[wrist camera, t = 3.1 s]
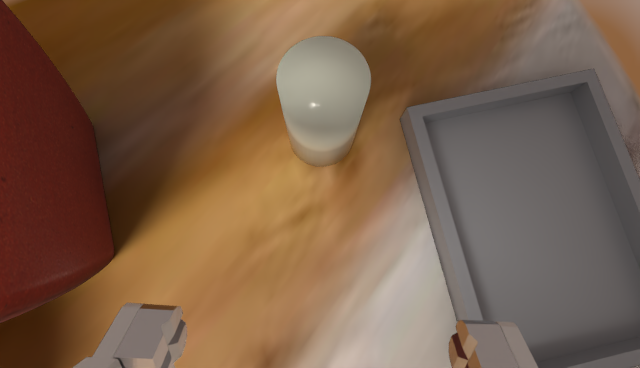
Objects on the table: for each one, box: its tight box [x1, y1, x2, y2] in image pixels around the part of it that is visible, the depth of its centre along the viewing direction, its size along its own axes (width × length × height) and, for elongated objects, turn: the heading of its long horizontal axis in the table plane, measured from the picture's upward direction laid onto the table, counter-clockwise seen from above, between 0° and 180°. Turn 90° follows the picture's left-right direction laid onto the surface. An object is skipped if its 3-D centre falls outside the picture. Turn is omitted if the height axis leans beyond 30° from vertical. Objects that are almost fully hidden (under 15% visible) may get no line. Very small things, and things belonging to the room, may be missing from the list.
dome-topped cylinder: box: [276, 36, 371, 167], centre depth 25 cm, size 6×6×10 cm
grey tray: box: [400, 69, 640, 368], centre depth 28 cm, size 22×16×2 cm
